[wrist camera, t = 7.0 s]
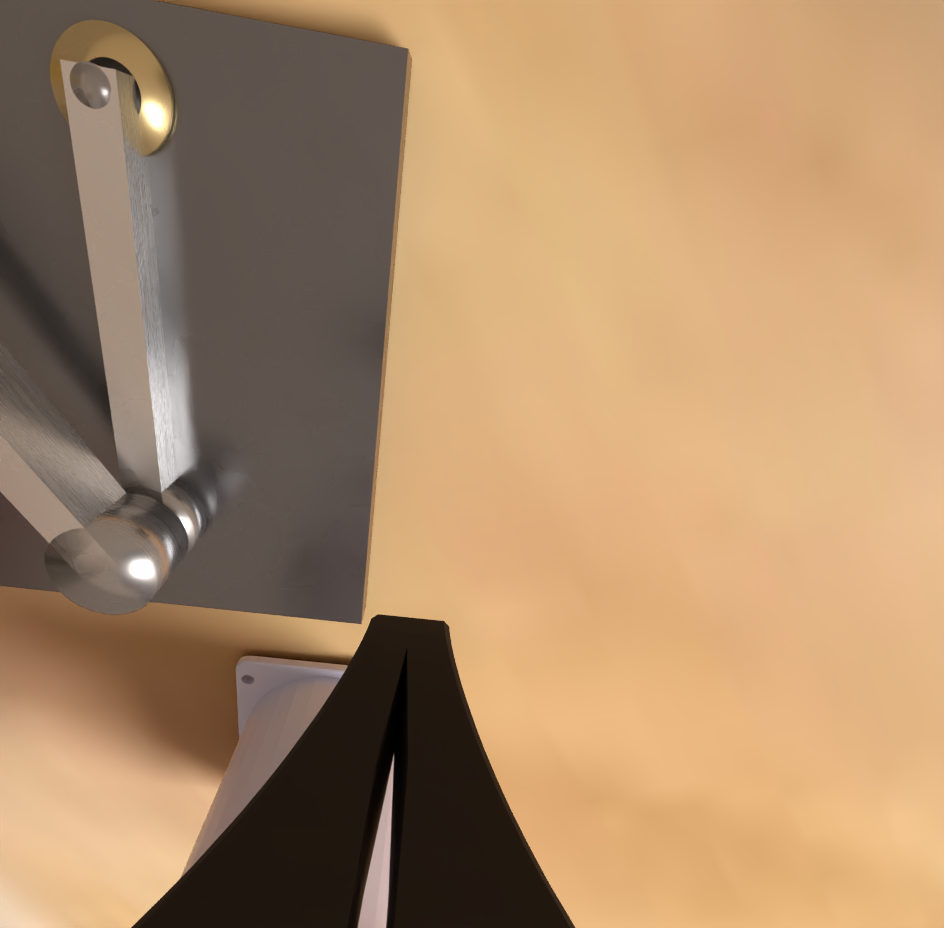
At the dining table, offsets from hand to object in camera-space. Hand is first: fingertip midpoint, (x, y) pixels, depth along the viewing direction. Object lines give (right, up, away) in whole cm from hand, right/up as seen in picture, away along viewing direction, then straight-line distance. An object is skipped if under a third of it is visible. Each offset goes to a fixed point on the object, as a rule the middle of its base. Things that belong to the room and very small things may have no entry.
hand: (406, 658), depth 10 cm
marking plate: (-11, +7, +7) cm, 14 cm away
